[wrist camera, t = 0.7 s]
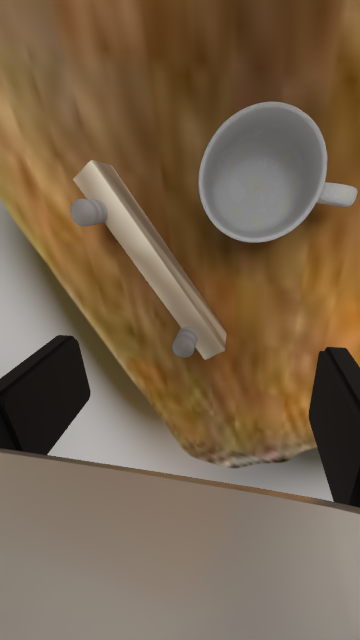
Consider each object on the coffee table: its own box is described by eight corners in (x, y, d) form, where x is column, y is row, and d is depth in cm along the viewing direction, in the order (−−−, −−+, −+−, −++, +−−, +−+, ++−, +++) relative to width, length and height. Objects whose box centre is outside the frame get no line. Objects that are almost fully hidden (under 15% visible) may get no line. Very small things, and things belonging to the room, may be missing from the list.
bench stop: (111, 165, 32) (75, 155, 25) (226, 332, 38) (223, 363, 31) (88, 188, 34) (47, 185, 27) (201, 345, 40) (193, 377, 33)
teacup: (193, 212, 33) (180, 215, 26) (233, 107, 28) (230, 76, 21) (299, 258, 32) (315, 275, 25) (357, 160, 27) (399, 147, 20)
